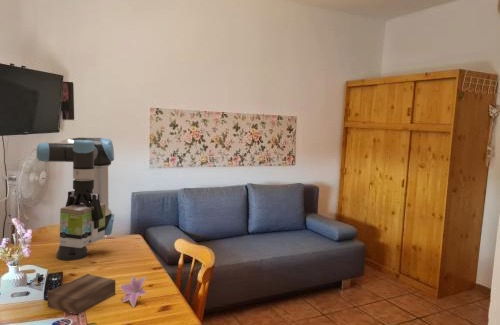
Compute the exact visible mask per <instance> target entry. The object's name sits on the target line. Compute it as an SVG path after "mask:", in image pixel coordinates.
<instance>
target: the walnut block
mask: <svg viewBox="0 0 500 325" xmlns="http://www.w3.org/2000/svg"><path fill="white" fill-rule="evenodd" d="M114 295H116V280H115V279H112V278H108V277H103V276H98V275H94V274H90V273H87V274H84V275H82V276H80V277H78V278H76V279H74V280H71V281H69V282H66V283H65V284H63V285H60V286H57V287H55V288H53V289H51V290H49V291H47V308H50V309H54V310H58V311H61V312H65V313H68V312H72V313H75V314H78V315H80V314H82V313H84V312H86V311H88V310H89V309H91V308H93V307H94V306H96V305H98V304H100V303H102V302H103V301H106V300H107V299H109V298H111V297H112V296H114ZM81 312H82V313H81ZM72 313H71V314H72ZM79 313H80V314H79ZM75 314H74V315H75Z"/></svg>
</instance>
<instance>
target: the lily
mask: <svg viewBox="0 0 500 325" xmlns="http://www.w3.org/2000/svg"><path fill="white" fill-rule="evenodd" d="M146 278H147V276H142V277H140V278H138V279H137V278H136V276H135V275H132V277H131V279H130V283H124V284H122V285H119V288H120V290H121V291H122V292H123V293H124V294H125V295H124V297H123V300H122V303H125V302H127V301H129V303H130V305H131V306H132V308H135V307H136V304H137V301H138V297H140V298H142V296H144V295H147V292H146V290H144V289H143V288H142V287H143V285H144V284H145V281H146Z"/></svg>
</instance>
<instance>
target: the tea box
mask: <svg viewBox="0 0 500 325" xmlns="http://www.w3.org/2000/svg"><path fill="white" fill-rule="evenodd" d="M100 205H101V209H102V213H103V219H100V220H99V228H98V236H96V237H93V238H92V237H91V221H92V220H93V219H92V212H91V211H92V210H93V209H94V207H87V206H86V205H85V204H84V203H80V204H78V205H71V206H67V207H65V206H63V207H61V208H60V217H59V245H61V246H67V247H76V248H82V247H84V246H86V247H87V246H89V245H91V244H93V243H96V242H98V241H101V240H104V239H105V237H106V236H105V204H101V203H100ZM95 217H96V216H95Z"/></svg>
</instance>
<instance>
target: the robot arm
mask: <svg viewBox="0 0 500 325" xmlns="http://www.w3.org/2000/svg"><path fill="white" fill-rule="evenodd" d="M36 146H37V147H36V158H37V160H38V161H39V162H46V163H48V162H49V163H52V162H53V163H54V162H55V163H57V162H58V163H60V162H64V163H72V178H73V180H72V189H73V190H71V191H67V200H66V202H65V206H64V207H67V206H71V205H78V204H80V203H84V204H85V205H86V206H87V207H94V209H93V210H92V211H91V212H92V219H93V220H92V221H91V237H92V238H93V237H96V236H98V228H99V220H100V219H103V213H102V209H101V205H100V203H101V204H105V237H106V236H110V235H111V234H112V232H113V227H114V221H115V214H114V213H112V210H111V209H110V208H109V167H110V166H111V165H112V162H113V161H114V160H115V152H114V150H115V149H114V145H113V141H112V139H110V138H104V137H73V138H69V139H64V140H61V141H60V142H41V143H38V144H37V145H36ZM95 216H96V217H95ZM88 251H89V250H88V247H87V245H86V246H84V247H82V248H76V247H67V246H61V245H60V244H59V246H58V250H57V251H56V258H57V259H58V260H62V261H73V260H75V261H76V260H80V259H83V258H85V257H87V256H88V255H89V254H88V253H89V252H88Z"/></svg>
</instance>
